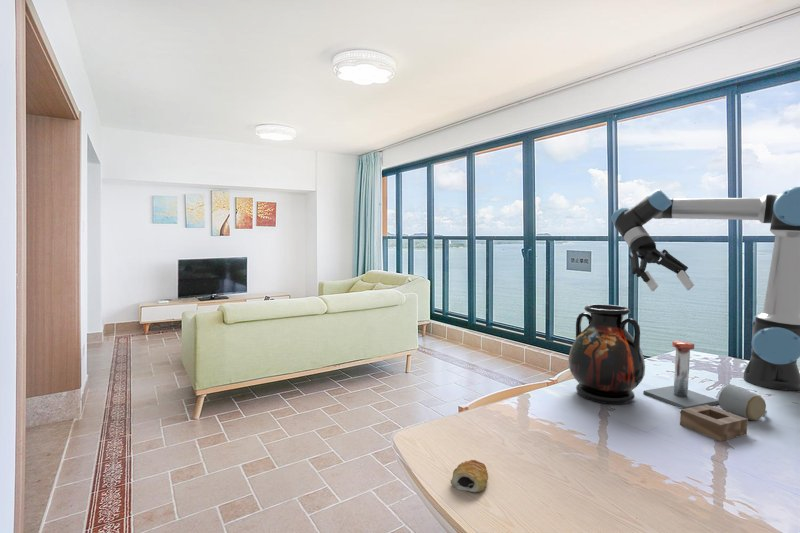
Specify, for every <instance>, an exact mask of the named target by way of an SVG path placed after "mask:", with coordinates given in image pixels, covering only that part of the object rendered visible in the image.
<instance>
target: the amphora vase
mask: <svg viewBox="0 0 800 533" xmlns="http://www.w3.org/2000/svg"><path fill="white" fill-rule="evenodd" d="M584 310H585V312H581V313H579V314H578V316H577V318H576V322H575V339H574V341H573V343H572V345H571V347H570V350H569V352H568V353H569V354H568V361H567V362H568V368H569V372H570V373H571V375H572V376H573V378H574V379H575V381H576V382H577V385H576V387H575V390H576V392H577V393H578V395H580V396H581V397H583V398H585V399H587V400H590V401H593V402H596V403H601V404H609V405H622V404H628V403H631V402H632V401H633V400H634V399H635V393H634V391H633V390H634V389H636V388H637V387H638V386H639V385H640V384H641V383H642V381H643V379H644V378H645V376H646V374H645V373H646V365H645V364H646V363H645V358H644V354H643V351H642V349H641V347H640V346H641V326H640V325H639V322H638V321H637V320H636V319H634V318H629V317H628V318H626V319H624V316H627V315H629V314H631V309H630V308H628V307H626V306H621V305H614V304H587V305H586V306H584ZM584 317H585V318H586V320H588V326H586V327H585V328H584V329H583V330H582V320H583V318H584ZM628 323H629V324H631V325H632V327H633V329H634V336H632V335H631V333H629V331H628V329H626V326H627V324H628Z"/></svg>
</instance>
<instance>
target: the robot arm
mask: <svg viewBox="0 0 800 533" xmlns="http://www.w3.org/2000/svg"><path fill="white" fill-rule="evenodd" d="M653 219H655V220H657V219H658V220H663V219H670V220H671V219H678V220H679V219H681V220H682V219H683V220H685V219H686V220H689V219H690V220H692V219H693V220H731V221H732V220H736V221H738V220H739V221H741V220H742V221H745V220H747V221H759V222H760V223H761V224H770V227H769V229H770V230H769V231H770V233H771V234H773V235H774V236H775V237H774V243H773V247H772V248H773V249H772V250H773V251H772V255H771V262H770V267H769V273H768V280H767V286H766V293H765V299H764V304H763V311H762V312H760V313H758V314H756V315H754V316H753V318H752V322H751V324H752V334H751V342H750V344H751V349H750V350H751V354H750V359H749V361H748V364H747V365H746V368H745V370H744V371H743V379H744V381H746V382H747V383H749V384H753V385H756V386H760V387H763V388H768V389H774V390H782V391H800V370H799V367H798V363H797V362H798V359H799V358H800V186H794V187H791V188H788V189H785V190H783V191H782V192H781V193H776V194H774V193H773V194H764V195H763V196H761V197H715V198H714V197H710V198H709V197H702V198H698V197H695V198H691V197H690V198H689V197H687V198H685V197H684V198H669V197H668V196H667V194H665V193H664V192H663V191H662V190H661V189H655V190H654V191H652V192H651V193H648V195H647V196H646V197H645V198H643V199H642V200H640V201H639V202H638V203H636V204H635V205H634V206H632V207H631V208H628V207H620V209H619V208H618V209H617V210H615V211H614V212H613V213H612V215H611V217H610V220H611V222H612V224H613V225H614V228H615V229H616V230H617V231H618V233H619V235H620V236H621V237H622V239H623V240H624V241H625V243H626V245H627V246H628V247H629V249H630V253H629V254H628V257H629V258H630V264H631V266H630V268H631V274H632V275H636V277H637V278H640V277H641V279H642V281H643V282H644V283H646V285H647V287H648V288H649V290H650V291H651V292H655V290H657V288H658V287H659V284H658V283H657V282H656V280H655V278H653V276H652V274H651V273H650V272H649V270H646V268H647V265H648V264H657V265H658V266H662V267H664V268H666V269H667V270H670V271H672V272H673V273H674V274H676V275H675V276H676V277H677V278H678V280H679V281H680V282H681V284H682V285H683V286H684V288H685V289H686V291H690V290H691V289H692V288H693V287H694V286H695V283H694V282H693V281H692V280H691V279H690V277H689V275H688V274H687V270H688V269H689V267H688V266H687V265H685V264H684V263H682V262H681V261H680V260H678V259H677V257H674V256H673V255H672V254H670V252H668V250H666V249H662V250H661V251H660V250H658V249H657V244H656V242H655V241H654V239H653V238H652V237H651V236H650V234H649V233H648V231H647V230H646V229H645V227H643V225H645V224H647V223H648V222H650V221H651V220H653ZM639 259H640V261H639Z"/></svg>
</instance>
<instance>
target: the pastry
mask: <svg viewBox="0 0 800 533" xmlns="http://www.w3.org/2000/svg"><path fill="white" fill-rule="evenodd" d="M488 479H489V474H488V470H487V466H486V465H485V463H483V462H481V461H478V460H476V459H471V460H465V461H464V462H461V463H459V464H458V465H457V467H455V469H453V472H452V477H451V480H450V484H451V485H452V487H453V488H454V489H456V490H459V491H464V492H470V493H476V494H477V493H480V492H482V491H484V490H485V489H486V487H487V484H488Z"/></svg>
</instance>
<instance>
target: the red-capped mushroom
mask: <svg viewBox="0 0 800 533" xmlns="http://www.w3.org/2000/svg"><path fill="white" fill-rule="evenodd" d="M671 346H672V347H673V348H675V359H674V360H675V362H674V376H673V377H674V379H673V386H674V395H675V396H679V397H687V396H688V390H689V379H690V378H689V374H690V359H691V350H695V343H692V342H690V341H689V342H688V341H684V340H683V341H682V340H673V341H672V343H671Z"/></svg>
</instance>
